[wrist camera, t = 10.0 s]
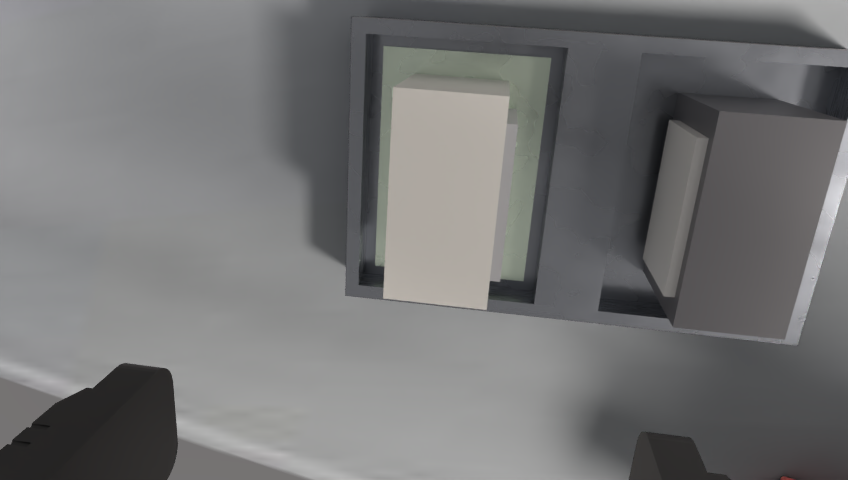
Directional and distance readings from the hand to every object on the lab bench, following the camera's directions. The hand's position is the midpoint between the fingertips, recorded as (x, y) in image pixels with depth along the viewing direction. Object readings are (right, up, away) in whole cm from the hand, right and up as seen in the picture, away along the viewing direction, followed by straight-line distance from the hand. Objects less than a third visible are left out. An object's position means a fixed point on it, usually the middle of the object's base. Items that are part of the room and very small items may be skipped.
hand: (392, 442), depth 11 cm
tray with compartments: (+8, +6, +18) cm, 21 cm away
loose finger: (+2, +7, +17) cm, 19 cm away
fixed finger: (+13, +6, +17) cm, 22 cm away
